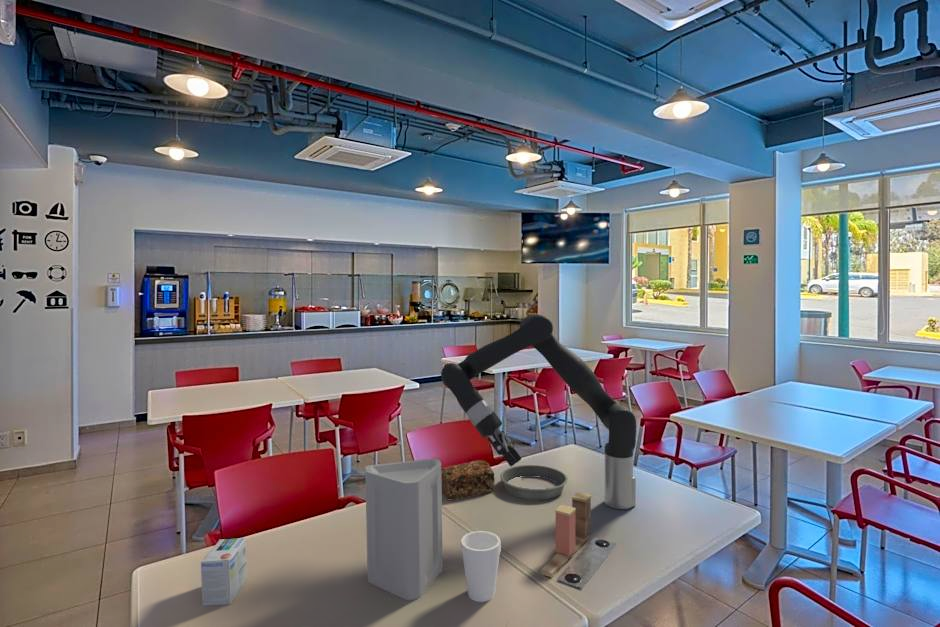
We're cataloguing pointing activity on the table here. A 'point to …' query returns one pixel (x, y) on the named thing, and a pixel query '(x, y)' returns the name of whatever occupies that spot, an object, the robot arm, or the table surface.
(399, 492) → the triangular storage bin
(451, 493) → the bread
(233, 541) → the light bulb box
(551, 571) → the rail
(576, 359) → the robot arm
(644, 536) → the table surface
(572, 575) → the flange plate
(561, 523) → the sliding leg
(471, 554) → the foam cup
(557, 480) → the cake pan
